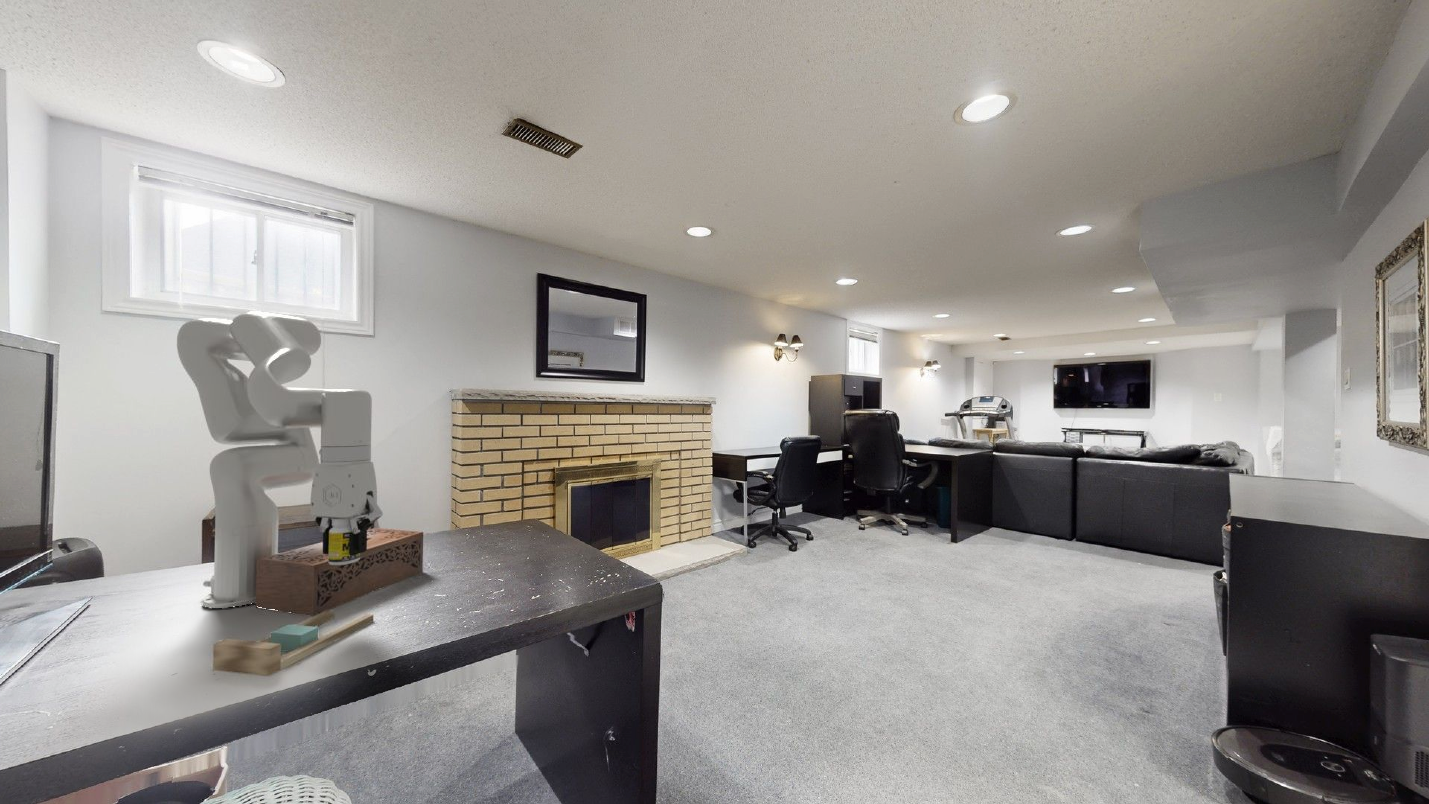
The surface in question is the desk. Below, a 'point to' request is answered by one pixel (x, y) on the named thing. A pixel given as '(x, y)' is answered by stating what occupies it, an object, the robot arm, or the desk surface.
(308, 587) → the tissue box cover
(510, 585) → the desk surface
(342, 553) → the supplement bottle
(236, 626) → the desk surface
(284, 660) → the track
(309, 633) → the block
